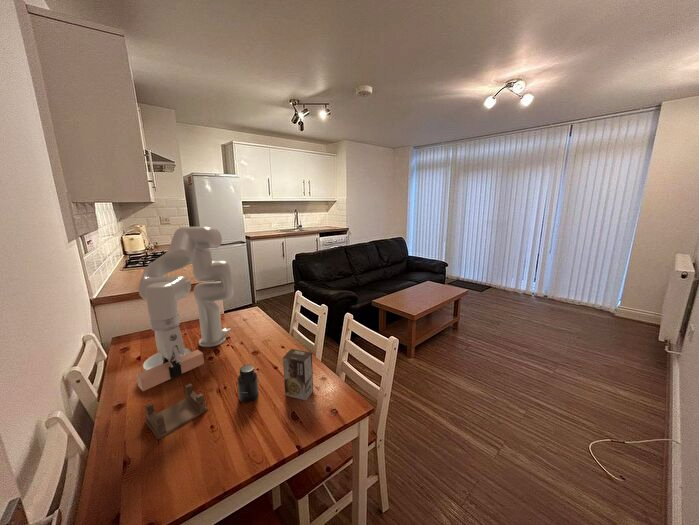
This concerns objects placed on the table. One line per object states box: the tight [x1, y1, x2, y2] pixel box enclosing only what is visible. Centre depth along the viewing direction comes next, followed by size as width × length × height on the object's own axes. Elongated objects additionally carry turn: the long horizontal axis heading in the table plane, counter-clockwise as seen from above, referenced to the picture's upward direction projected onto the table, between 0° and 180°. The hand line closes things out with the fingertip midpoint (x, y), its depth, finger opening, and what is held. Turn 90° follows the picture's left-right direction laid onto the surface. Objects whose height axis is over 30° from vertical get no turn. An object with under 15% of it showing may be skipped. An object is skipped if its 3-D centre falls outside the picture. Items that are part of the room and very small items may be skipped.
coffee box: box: [282, 348, 314, 401], centre depth 101 cm, size 9×6×16 cm
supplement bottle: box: [237, 364, 259, 404], centre depth 100 cm, size 7×7×12 cm
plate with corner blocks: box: [144, 383, 209, 440], centre depth 91 cm, size 15×11×6 cm
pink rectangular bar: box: [135, 349, 205, 392], centre depth 89 cm, size 18×4×4 cm, turn 143°
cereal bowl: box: [142, 347, 192, 371], centre depth 114 cm, size 17×17×7 cm
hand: (173, 372), depth 89 cm, fingers closed on pink rectangular bar, 4 cm apart
